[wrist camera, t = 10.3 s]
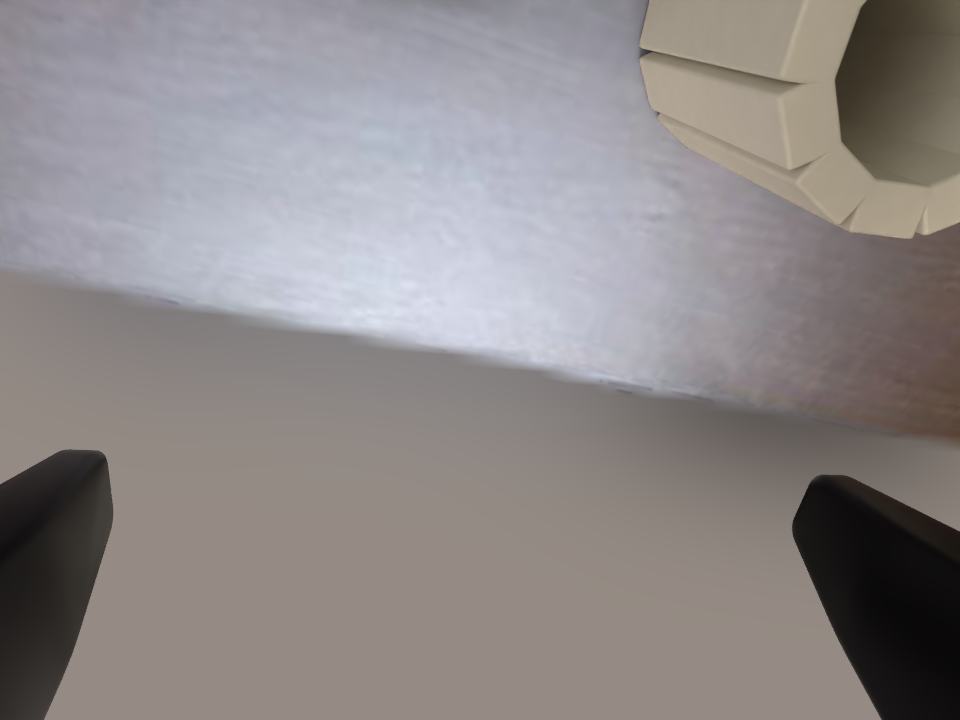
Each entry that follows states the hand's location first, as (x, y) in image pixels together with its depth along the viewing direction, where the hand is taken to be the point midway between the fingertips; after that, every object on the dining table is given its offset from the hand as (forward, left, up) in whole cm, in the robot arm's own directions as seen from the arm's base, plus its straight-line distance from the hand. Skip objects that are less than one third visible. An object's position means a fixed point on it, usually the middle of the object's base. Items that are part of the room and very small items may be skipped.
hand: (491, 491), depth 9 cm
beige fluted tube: (+8, +6, -12) cm, 15 cm away
